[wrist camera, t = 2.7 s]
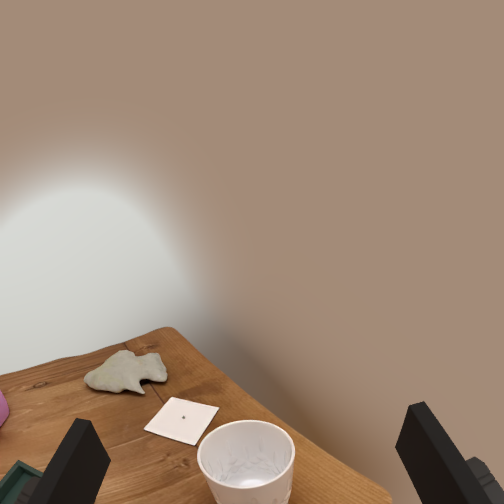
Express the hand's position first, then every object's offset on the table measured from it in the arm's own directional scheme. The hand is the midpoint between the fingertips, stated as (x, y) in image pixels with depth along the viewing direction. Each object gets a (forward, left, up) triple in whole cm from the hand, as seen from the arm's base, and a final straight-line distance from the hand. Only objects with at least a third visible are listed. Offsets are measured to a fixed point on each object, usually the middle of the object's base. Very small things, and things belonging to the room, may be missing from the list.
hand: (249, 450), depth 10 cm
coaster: (+21, +14, -20) cm, 32 cm away
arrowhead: (+29, +27, -21) cm, 45 cm away
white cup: (+8, +2, -21) cm, 22 cm away
